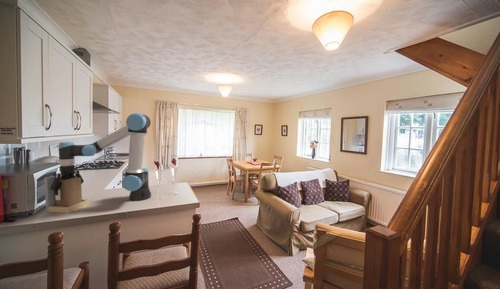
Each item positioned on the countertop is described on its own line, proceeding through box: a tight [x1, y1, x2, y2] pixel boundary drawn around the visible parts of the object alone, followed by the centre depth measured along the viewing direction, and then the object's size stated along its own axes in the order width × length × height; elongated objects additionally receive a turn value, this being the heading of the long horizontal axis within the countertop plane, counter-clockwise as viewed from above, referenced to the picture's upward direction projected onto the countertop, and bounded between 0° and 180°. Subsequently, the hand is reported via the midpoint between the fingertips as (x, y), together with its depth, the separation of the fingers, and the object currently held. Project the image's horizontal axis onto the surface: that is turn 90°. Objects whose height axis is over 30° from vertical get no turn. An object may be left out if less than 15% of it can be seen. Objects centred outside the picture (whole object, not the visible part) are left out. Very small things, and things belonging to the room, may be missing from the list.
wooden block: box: [55, 177, 83, 207], centre depth 135 cm, size 10×10×20 cm
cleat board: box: [43, 175, 91, 214], centre depth 135 cm, size 16×16×22 cm
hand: (68, 196), depth 135 cm, fingers open, 13 cm apart
